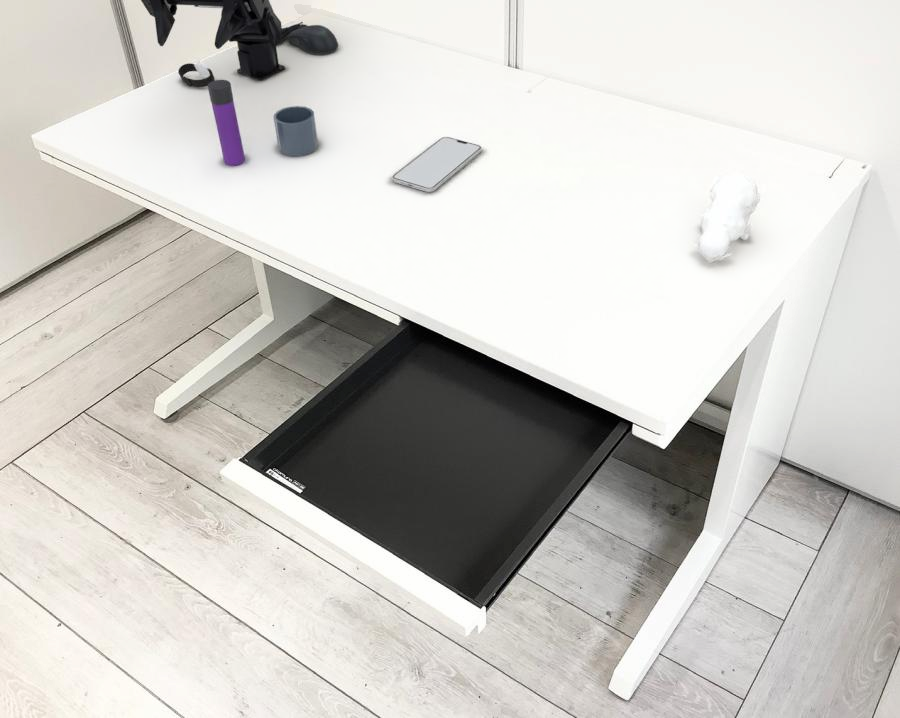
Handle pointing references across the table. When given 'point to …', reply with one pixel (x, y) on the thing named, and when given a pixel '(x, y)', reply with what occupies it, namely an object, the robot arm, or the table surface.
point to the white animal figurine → (727, 215)
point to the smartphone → (437, 164)
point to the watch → (199, 68)
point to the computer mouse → (310, 38)
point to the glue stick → (226, 122)
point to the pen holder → (296, 131)
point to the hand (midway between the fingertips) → (188, 45)
